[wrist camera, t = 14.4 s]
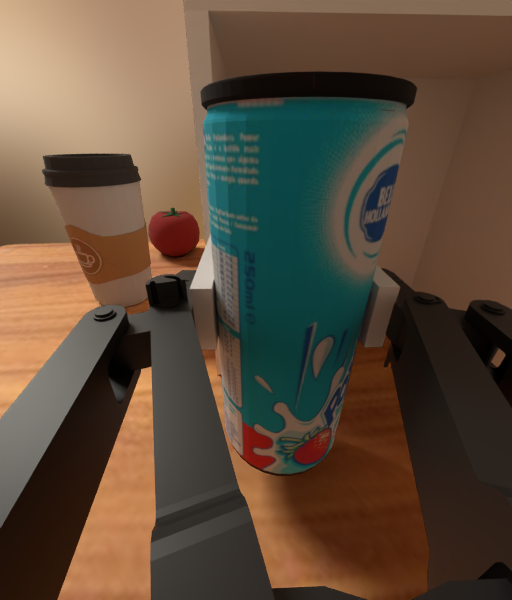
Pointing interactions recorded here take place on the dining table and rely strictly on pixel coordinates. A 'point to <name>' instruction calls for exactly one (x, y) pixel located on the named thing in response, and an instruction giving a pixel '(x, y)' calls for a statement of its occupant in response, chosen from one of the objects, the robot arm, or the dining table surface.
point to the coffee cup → (103, 222)
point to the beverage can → (296, 246)
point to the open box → (421, 116)
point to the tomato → (174, 232)
